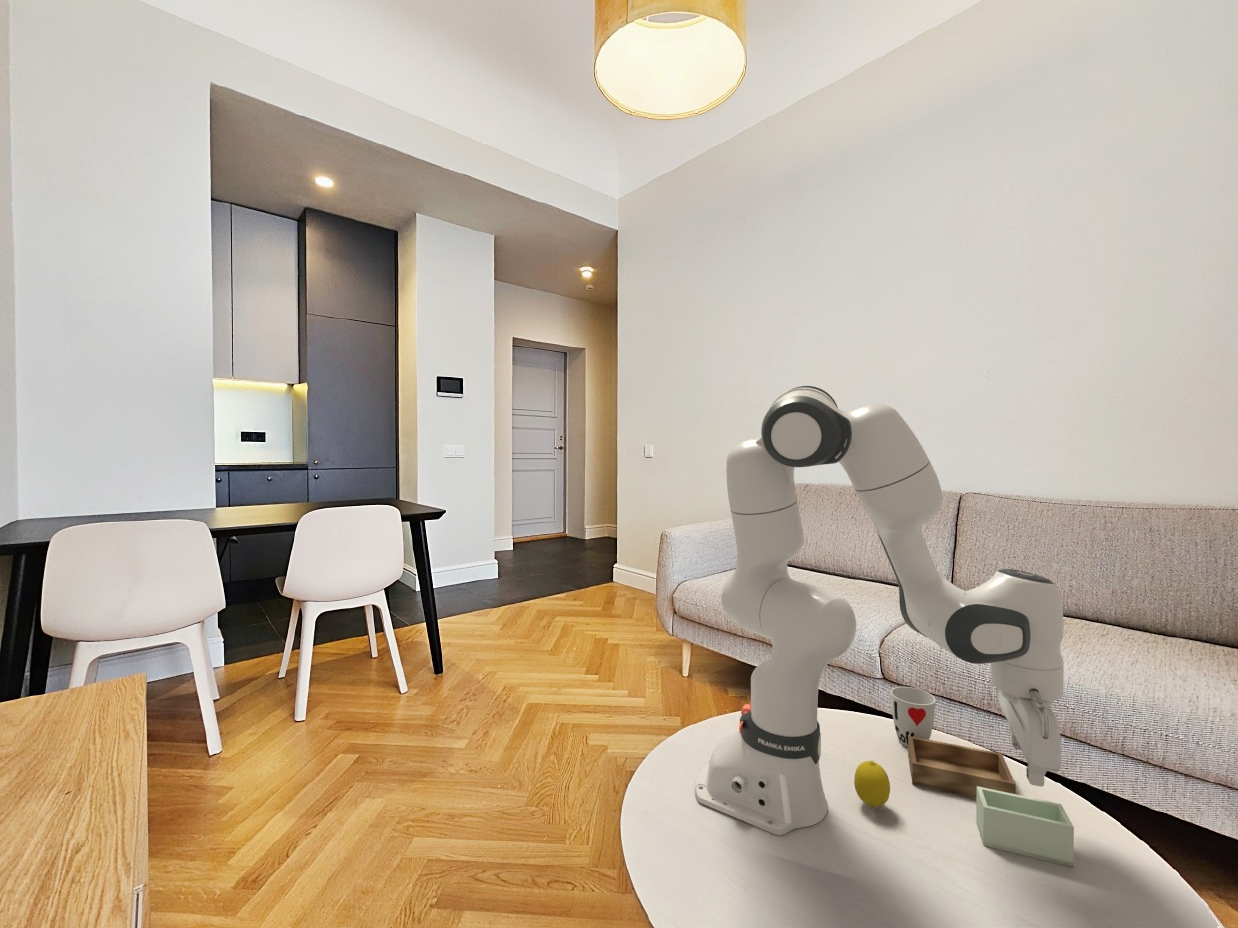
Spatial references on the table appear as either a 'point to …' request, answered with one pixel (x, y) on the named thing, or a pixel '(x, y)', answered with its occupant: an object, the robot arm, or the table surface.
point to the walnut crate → (957, 768)
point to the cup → (912, 713)
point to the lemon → (872, 784)
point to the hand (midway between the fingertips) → (1026, 764)
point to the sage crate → (1025, 826)
